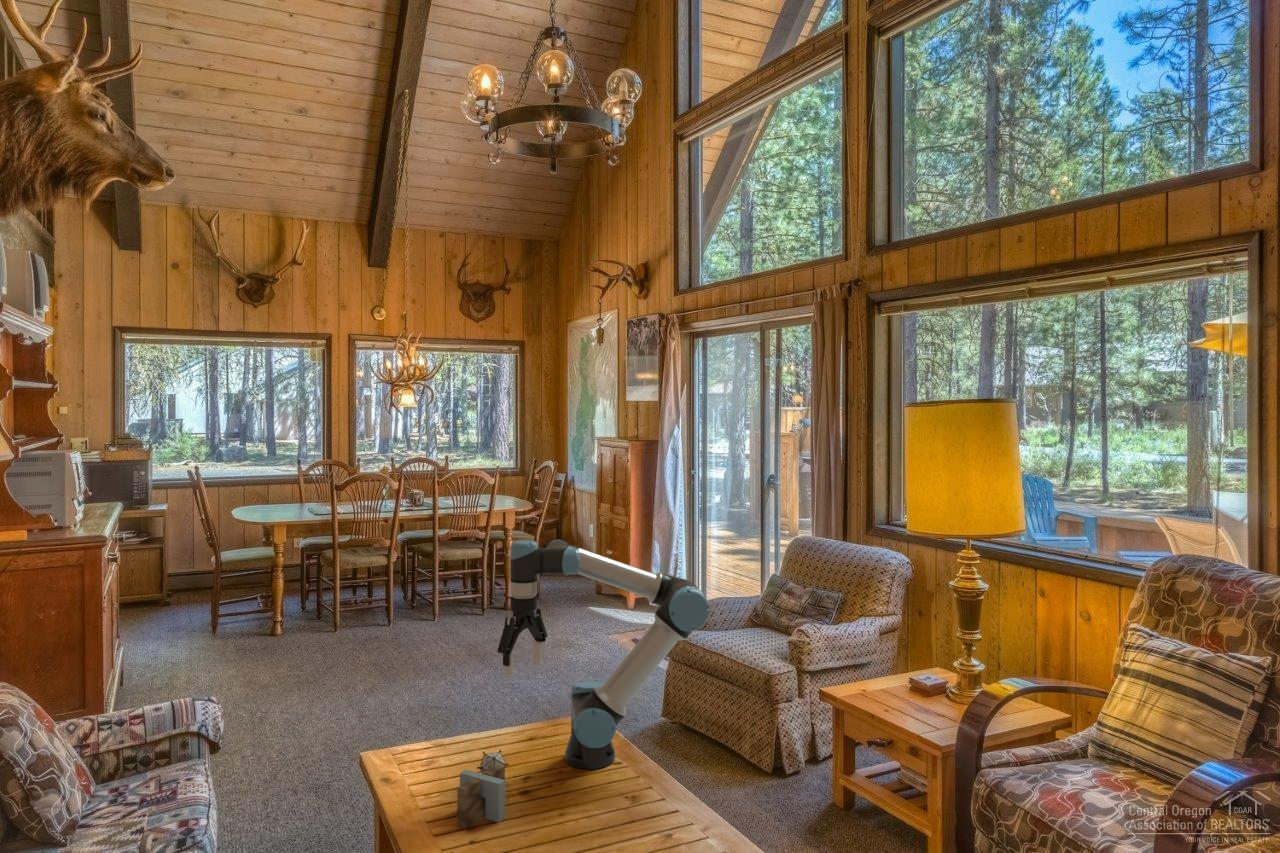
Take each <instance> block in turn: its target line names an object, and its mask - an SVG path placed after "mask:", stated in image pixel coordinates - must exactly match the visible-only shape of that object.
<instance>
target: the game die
mask: <svg viewBox="0 0 1280 853" xmlns="http://www.w3.org/2000/svg"><path fill="white" fill-rule="evenodd" d="M501 752H502V749H500V750H499V751H498V752H489V753H486V752H485V751H482V754H483V756H482V759H481V762H480V763H479V766H477V767H476V769H477V770H480V773H481V774H483V772H485V771H487V770H489V769H490V768H492V767H494V766H496V765H497V764H498V765H502V766H505V768H506V767H507V766H510V764H509V763H506V760H504V757H503V756H502V753H501Z"/></svg>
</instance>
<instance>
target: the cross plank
mask: <svg viewBox="0 0 1280 853" xmlns="http://www.w3.org/2000/svg"><path fill="white" fill-rule="evenodd" d="M471 779H476V780H480V797H483V798H485V816H484V817H485V819H486V820H488V821H492V822H496V823H498V824H499V823H500V822H502V821H504V820H505V819H506V779H505V780H502V779H499V778H495V777H492V776H488V775H484V774H482V773H481V772H476V771H473V770H469V769H465V770H462V771H461V772H459V786H461V785H462V784H464V783H466V782H468V781H469V780H471Z"/></svg>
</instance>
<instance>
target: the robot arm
mask: <svg viewBox="0 0 1280 853" xmlns="http://www.w3.org/2000/svg"><path fill="white" fill-rule="evenodd" d="M509 561H510V562H509V564H510V565H509V566H510V567H509V568H510V570H509V571H510V575H509V577H510V587H509V588H510V592H509V594H510V596H511V597H510V598H509V609H510V611H512V617H511V616H510V617H509V616H506V617H505V618H504V626H503V630H502V633H501V637H500V640H499V643H498V648H497V650H496V651H497V654H502V665H503V670H502V671H503V672H502V673H503V677H505V678H508V679H512V678H514V654H513V653H512V652H513V651H514V650H513V649H514V647H515V645H516V643H517V640H518V638H519V636H520V634H521V633H523V631H524V630H526V629H527V630H528V631H529V633H530V635H531V636H532V638H533V639H534V640H533V641H532V664H533V665H537V666H542V664H543V662H542V661H543V660H542V659H543V642H544V643H545V642H546V641H547V638H548V633H547V630H546V626H545V623H544V620H543V617H542V609H541V608H539V607H537V606H538V602H537V601H538V597H537V596H536V595H537V594H538V578H537V577H538V576H539V575H540V576H545V575H546V576H552V575H553V576H554V575H557V576H562V575H564V576H569V575H579V576H583V577H586V578H587V579H592V580H594V581H597V582H600V583H603V584H606V585H609V586H612V587H615V588H618V589H619V590H623V591H626V592H628V593H632V594H635V595H638V596H641V597H644V598H646V599H647V600H648V602H649V603H650V604H653V605H656V606H657V607H658V609H657V610H655V612H654V621H653V623H652V625H650V627H649V628H648V629H647V631H646V632H645V633H644V635H642V636H641V638H640V639H639V641H638V642H637V643H636V644H635V645H634V647H633V648H632V649H631V651H630V652H629V653H628V654H627V656H625V658H624V660H622V662H621V663H620V664H619V666H617V667H616V669H615V670H614V671H613V673H612V674H611V675H610V677H609V678H608V680H607V681H606V682H602V681H581V682H577V683H575V684H573V685H572V686H571V691H570V696H571V698H570V701H571V705H570V708H571V710H570V711H571V712H570V715H571V716H570V730H571V731H570V736H569V740H568V742H567V746H566V749H565V751H564V760H565V762H566V764H567V765H568V766H571V767H573V768H577V769H581V770H596V769H597V770H599V769H601V768H605V767H608V766H610V765H612V764H613V763H614V762H615V760H616V751H615V747H614V744H613V739H614V736H615V735H616V731H617V727H618V726H619V724H620V723H621V722H622V720H623V718H625V716H626V715H627V710H626V709H627V708H626V707H627V705H628V704H629V702H630V701H631V700H632V699H633V697H634V696H635V695H636V694H637V693H638V691H639V690H640V689H641V687H642V686H643V685H644V684H645V683H646V681H647V680H648V679H649V677H650V676H651V675H652V673H654V671H655V670H656V669H657V667H658V666H659V665H660V664H661V662H662V661H663V660H664V659H665V657H666V656H667V655H668V654H669V653H670V651H671V650H672V649H673V648H674V646H676V644H677V642H678V641H685V640H687V639H688V637H689V636H690V635H691V633H692V632H695V631H697V630H699V629H701V628H702V627H703V626H704V625H705V624H706V622H707V621H708V619H709V616H710V604H709V602H708V599H707V596H706V595H705V593H704V592H703V591H702V590H701V589H700V588H698V586H697V585H696V584H695V583H694V582H692V581H690V580H688V579H685V578H681V577H677V576H674V575H669V574H667V573H663V572H657V573H653V572H650V571H647V570H644V569H642V568H639V567H635V566H633V565H630V564H627V563H624V562H621V561H619V560H615V559H613V558H610V557H607V556H603V555H601V554H598V553H596V552H593V551H590V550H586V549H583V548H581V547H577V546H575V545H572V544H569V543H568V542H566V541H564V540H563V539H554V540H552V541H550V542H549V543H548V544H547V545H546V547H545V548H544V547H543V548H542V547H538V543H537V542H536V541H534V540H526V539H525V540H524V539H522V540H516V541H514V542H512V544H511V545H510V559H509Z"/></svg>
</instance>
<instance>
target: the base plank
mask: <svg viewBox="0 0 1280 853" xmlns="http://www.w3.org/2000/svg"><path fill="white" fill-rule="evenodd" d="M505 772H506V767H505V766H502V765H498V764H497V765H496V766H494V767H492V768H490V769H489V770H487V771H485V772H483V774H484V775H488V776H492V777H495V778H499V779H502V780H505V781H506V778H505V777H506V773H505ZM456 805H457V806H456V807H457V810H456V812H457V816H456V817H457V819H456V821H457V822H456V823H457V825H456V827H457V828H461V829H463V830H464V829H467V828H469V827H470V826H472V825H473V824H475V823H476V822H478V821H479V820H481V819H483V818H484V817H485V798H483V797H480V780H476V779H471V780H469V781H468V782H466V783H464V784H462V785H461V786H460V785H459V786H458V787H457V804H456Z"/></svg>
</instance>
